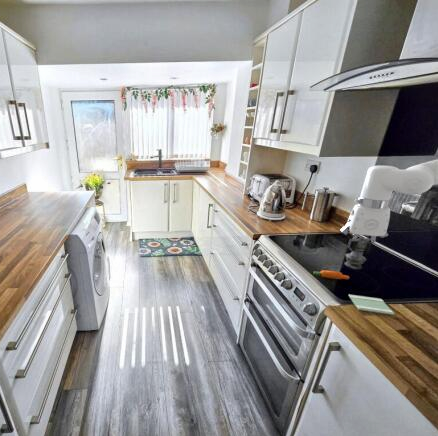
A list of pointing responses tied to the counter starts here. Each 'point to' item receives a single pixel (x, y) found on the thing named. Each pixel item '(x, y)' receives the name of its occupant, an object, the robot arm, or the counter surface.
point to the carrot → (331, 274)
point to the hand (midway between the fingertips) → (358, 249)
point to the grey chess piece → (356, 255)
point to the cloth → (371, 304)
